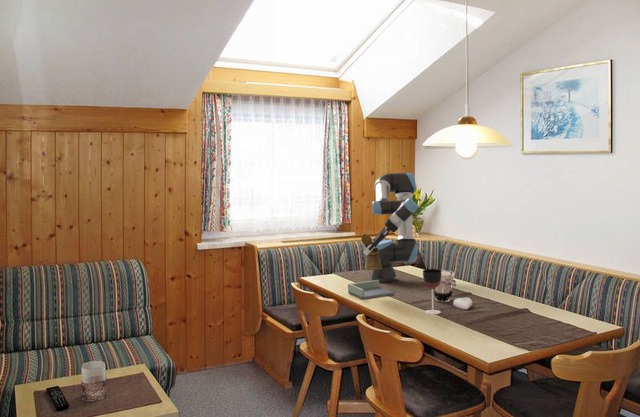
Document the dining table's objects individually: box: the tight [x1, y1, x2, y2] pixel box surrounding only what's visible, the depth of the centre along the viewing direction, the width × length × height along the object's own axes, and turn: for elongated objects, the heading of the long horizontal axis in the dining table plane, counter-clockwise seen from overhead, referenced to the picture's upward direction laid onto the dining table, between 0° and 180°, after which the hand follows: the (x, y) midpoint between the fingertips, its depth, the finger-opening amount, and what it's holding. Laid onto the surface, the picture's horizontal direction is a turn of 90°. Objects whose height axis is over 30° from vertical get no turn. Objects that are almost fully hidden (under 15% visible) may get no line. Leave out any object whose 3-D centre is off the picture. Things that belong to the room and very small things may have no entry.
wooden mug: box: [360, 233, 382, 271], centre depth 324 cm, size 9×14×18 cm, turn 23°
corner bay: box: [347, 280, 394, 300], centre depth 326 cm, size 19×16×5 cm
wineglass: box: [422, 268, 442, 315], centre depth 286 cm, size 8×9×20 cm
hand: (365, 252), depth 324 cm, fingers closed on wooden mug, 10 cm apart
